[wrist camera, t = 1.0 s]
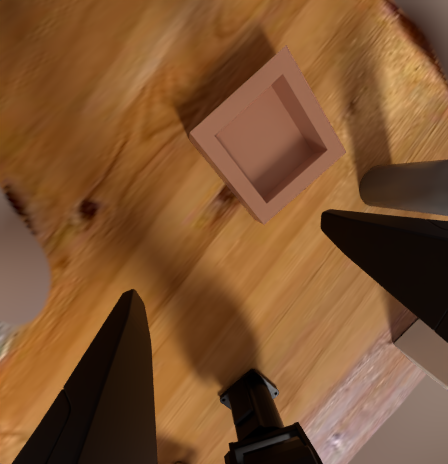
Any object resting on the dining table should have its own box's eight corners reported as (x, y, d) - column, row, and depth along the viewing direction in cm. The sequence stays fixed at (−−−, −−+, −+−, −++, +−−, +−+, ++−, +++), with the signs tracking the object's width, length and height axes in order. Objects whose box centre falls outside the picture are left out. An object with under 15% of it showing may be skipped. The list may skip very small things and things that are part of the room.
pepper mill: (400, 188, 26) (593, 193, 14) (370, 214, 26) (535, 243, 14) (384, 156, 25) (584, 130, 12) (352, 184, 25) (520, 186, 12)
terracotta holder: (326, 155, 23) (346, 152, 20) (254, 219, 24) (264, 224, 21) (272, 64, 20) (286, 45, 17) (189, 139, 20) (189, 132, 18)
